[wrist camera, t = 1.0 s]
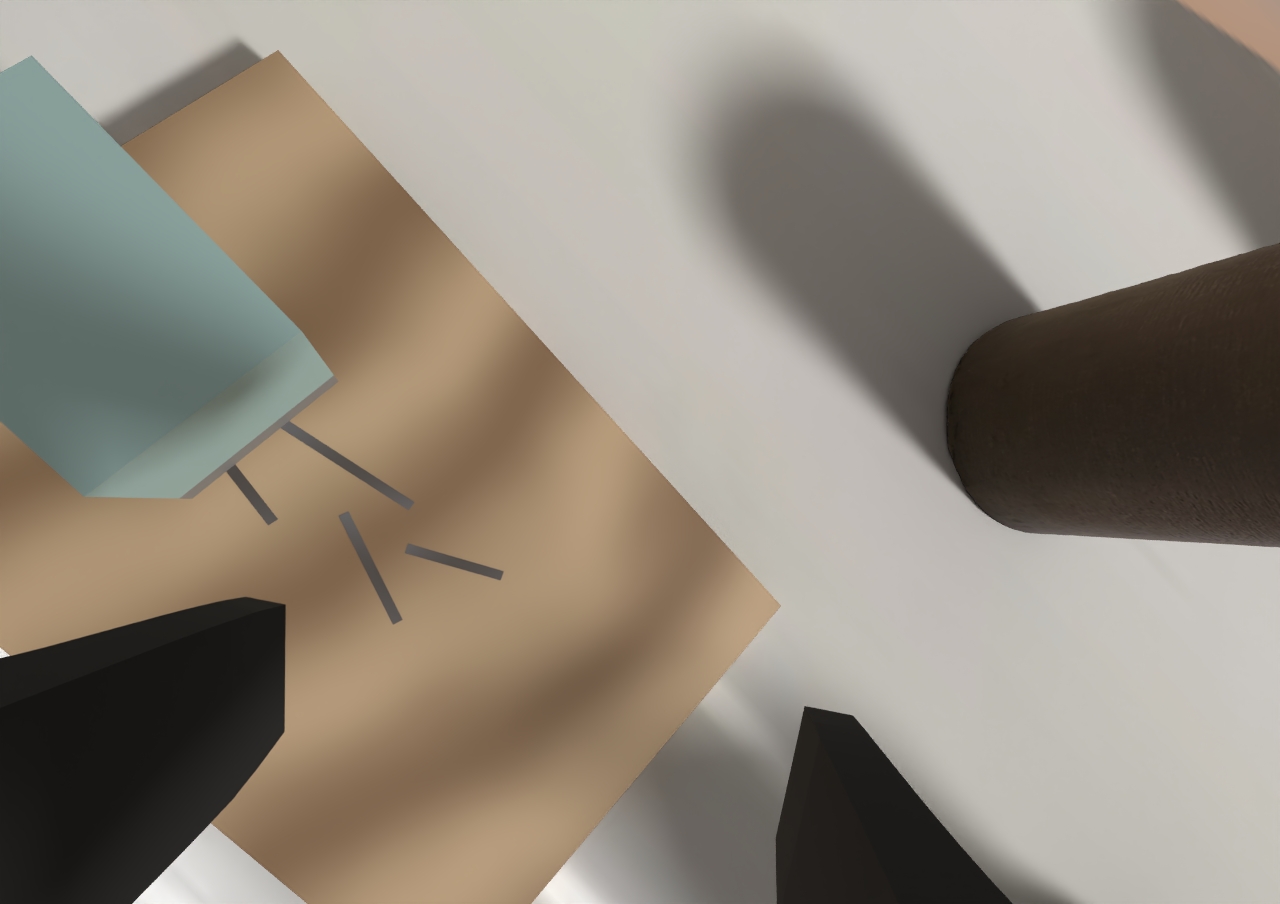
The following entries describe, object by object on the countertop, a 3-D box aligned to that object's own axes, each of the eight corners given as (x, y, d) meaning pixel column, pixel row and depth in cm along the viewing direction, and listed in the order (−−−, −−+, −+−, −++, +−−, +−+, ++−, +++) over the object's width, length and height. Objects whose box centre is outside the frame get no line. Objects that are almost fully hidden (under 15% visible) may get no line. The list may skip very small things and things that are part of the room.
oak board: (-234, 408, 17) (-296, 400, 15) (288, 80, 21) (278, 49, 20) (438, 977, 20) (438, 1013, 19) (760, 600, 25) (781, 605, 23)
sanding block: (-16, 304, 17) (-242, 203, 11) (154, 194, 18) (31, 55, 13) (192, 498, 18) (83, 496, 12) (338, 381, 19) (301, 331, 14)
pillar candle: (909, 453, 28) (1430, 409, 13) (1001, 277, 30) (1532, 80, 16) (1057, 575, 30) (1640, 649, 16) (1133, 403, 32) (1702, 331, 18)
